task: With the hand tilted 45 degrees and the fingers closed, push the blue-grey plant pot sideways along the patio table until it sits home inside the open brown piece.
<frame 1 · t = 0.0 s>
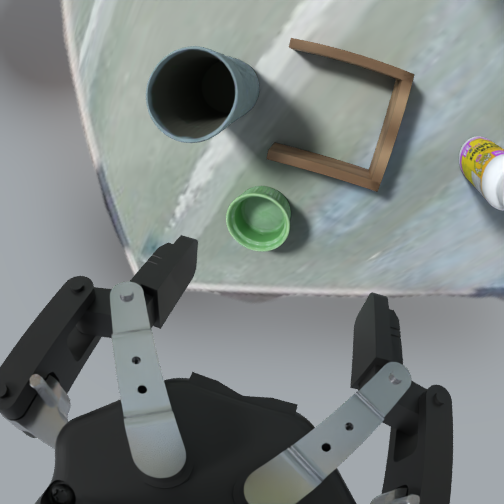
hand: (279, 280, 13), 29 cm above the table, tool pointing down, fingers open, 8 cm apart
supplement bottle: (476, 157, 31), on the table
ramekin: (264, 209, 45), on the table
brown piece: (334, 109, 34), on the table
blue-grey plant pot: (228, 86, 36), on the table
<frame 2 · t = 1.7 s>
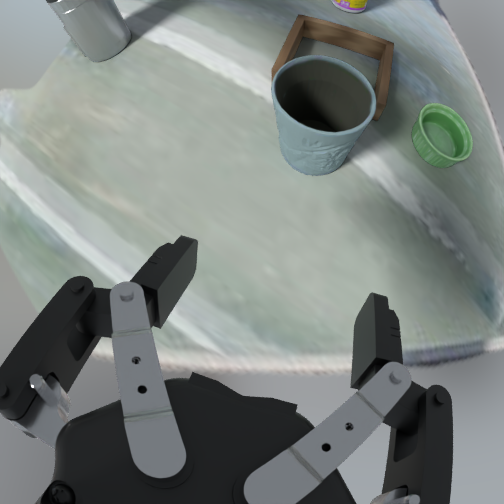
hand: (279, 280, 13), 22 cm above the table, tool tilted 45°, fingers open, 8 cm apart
supplement bottle: (348, 5, 41), on the table
ramekin: (433, 144, 36), on the table
brown piece: (334, 72, 38), on the table
blue-grey plant pot: (311, 146, 37), on the table
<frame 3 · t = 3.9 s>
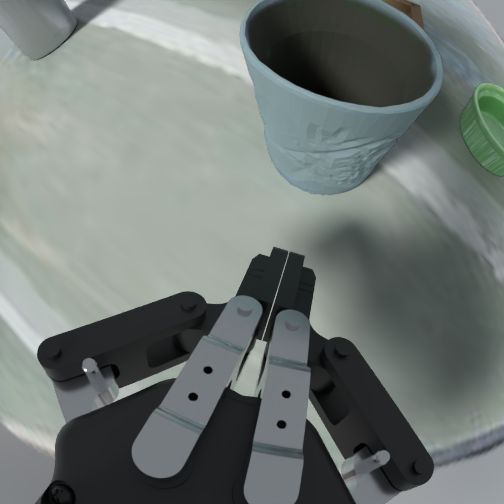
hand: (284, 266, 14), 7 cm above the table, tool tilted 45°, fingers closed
ramekin: (487, 142, 22), on the table
brown piece: (343, 41, 25), on the table
blue-grey plant pot: (318, 146, 23), on the table
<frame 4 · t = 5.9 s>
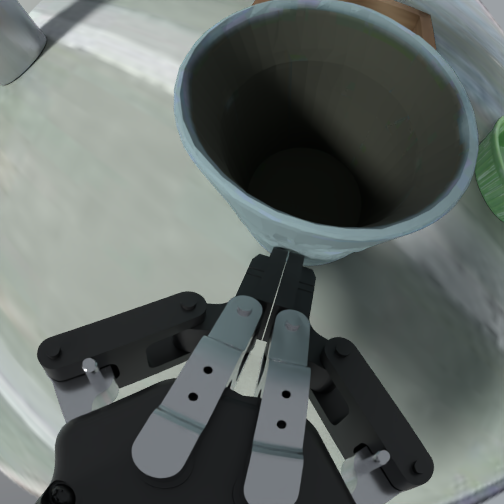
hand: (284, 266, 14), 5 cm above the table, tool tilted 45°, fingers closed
ramekin: (503, 183, 19), on the table
brown piece: (338, 59, 21), on the table
blue-grey plant pot: (303, 201, 20), on the table, touching gripper
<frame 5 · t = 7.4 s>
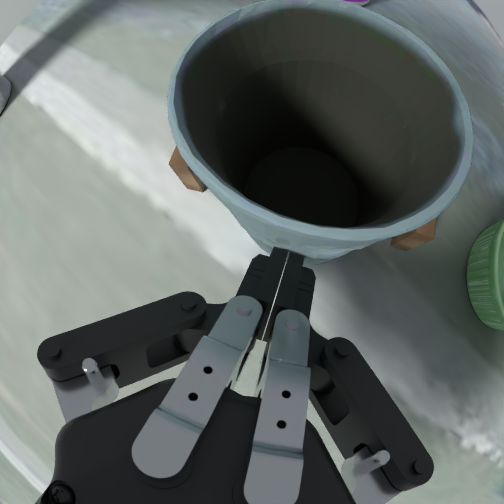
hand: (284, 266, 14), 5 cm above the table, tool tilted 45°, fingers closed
ramekin: (497, 277, 18), on the table
brown piece: (319, 134, 20), on the table
blue-grey plant pot: (300, 200, 20), on the table, touching gripper
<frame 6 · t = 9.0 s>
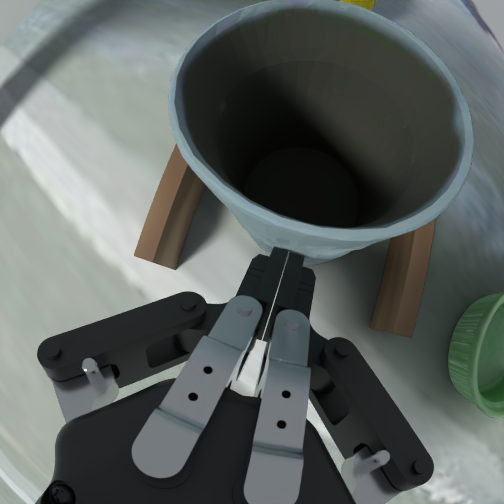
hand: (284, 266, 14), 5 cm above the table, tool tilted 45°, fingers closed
supplement bottle: (335, 18, 23), on the table
ramekin: (483, 347, 17), on the table
brown piece: (300, 202, 20), on the table
blue-grey plant pot: (300, 200, 20), on the table, touching gripper
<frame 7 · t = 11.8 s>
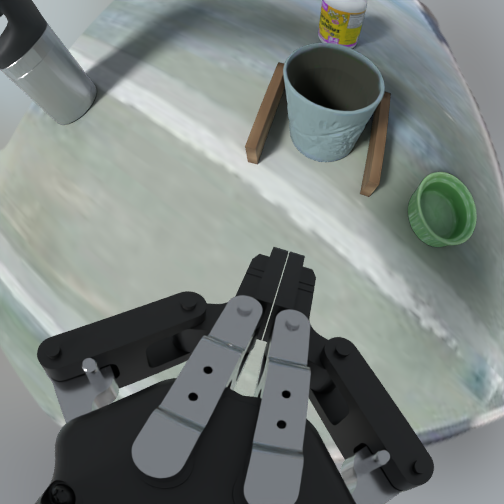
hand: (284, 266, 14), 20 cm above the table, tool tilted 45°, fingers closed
supplement bottle: (337, 40, 40), on the table
ramekin: (432, 217, 34), on the table
brown piece: (320, 135, 37), on the table
blue-grey plant pot: (320, 134, 37), on the table
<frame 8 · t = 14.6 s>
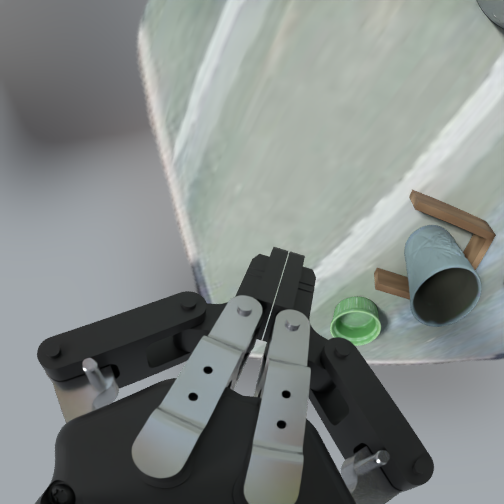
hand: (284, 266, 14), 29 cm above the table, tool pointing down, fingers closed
ramekin: (356, 311, 53), on the table
brown piece: (428, 247, 41), on the table
blue-grey plant pot: (429, 246, 42), on the table
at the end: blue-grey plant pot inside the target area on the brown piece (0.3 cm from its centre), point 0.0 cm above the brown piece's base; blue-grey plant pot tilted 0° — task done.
